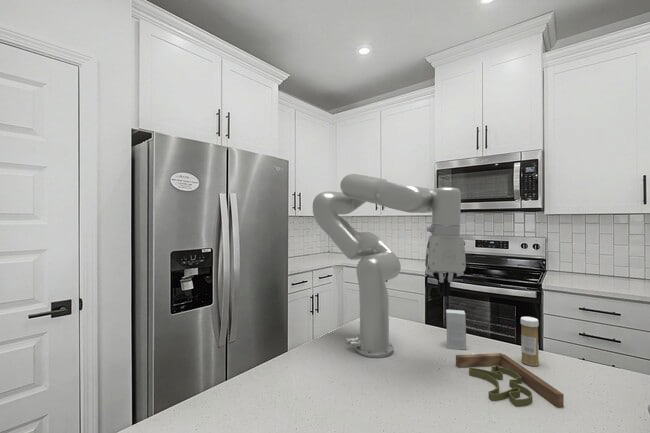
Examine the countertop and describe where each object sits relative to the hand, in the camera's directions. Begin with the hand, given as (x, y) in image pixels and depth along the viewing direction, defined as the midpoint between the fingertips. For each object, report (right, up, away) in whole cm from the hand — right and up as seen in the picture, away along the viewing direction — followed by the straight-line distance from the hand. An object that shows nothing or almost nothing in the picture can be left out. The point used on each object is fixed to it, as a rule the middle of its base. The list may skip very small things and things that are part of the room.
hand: (443, 295), depth 93 cm
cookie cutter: (+12, -22, -8) cm, 27 cm away
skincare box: (+11, -22, +18) cm, 30 cm away
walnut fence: (+12, -22, -7) cm, 26 cm away
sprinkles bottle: (+28, -22, +5) cm, 35 cm away
